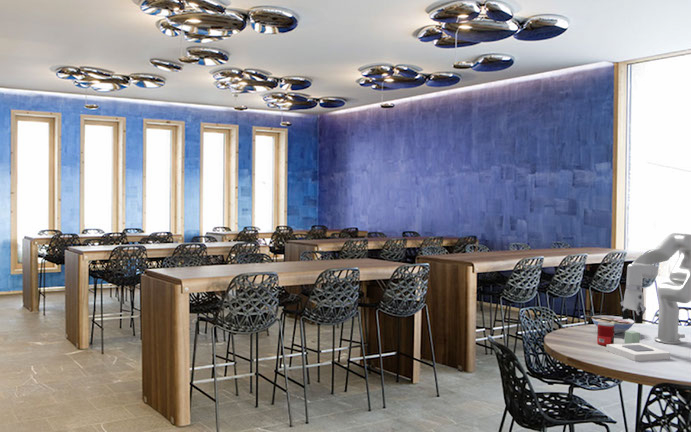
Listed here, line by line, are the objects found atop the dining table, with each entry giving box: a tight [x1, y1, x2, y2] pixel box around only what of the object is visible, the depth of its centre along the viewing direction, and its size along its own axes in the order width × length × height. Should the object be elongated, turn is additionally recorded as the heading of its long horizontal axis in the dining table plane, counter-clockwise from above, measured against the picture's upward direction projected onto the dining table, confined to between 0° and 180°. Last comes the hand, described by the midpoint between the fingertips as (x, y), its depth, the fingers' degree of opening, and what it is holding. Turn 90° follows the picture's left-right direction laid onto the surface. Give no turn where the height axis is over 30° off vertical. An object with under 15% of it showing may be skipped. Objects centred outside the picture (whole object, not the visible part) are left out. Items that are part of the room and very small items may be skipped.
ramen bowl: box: [584, 315, 636, 335], centre depth 357 cm, size 25×23×8 cm
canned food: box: [596, 322, 615, 347], centre depth 327 cm, size 8×8×11 cm
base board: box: [605, 342, 671, 362], centre depth 307 cm, size 20×20×3 cm
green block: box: [623, 330, 641, 344], centre depth 327 cm, size 5×5×7 cm
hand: (631, 321), depth 326 cm, fingers open, 9 cm apart
